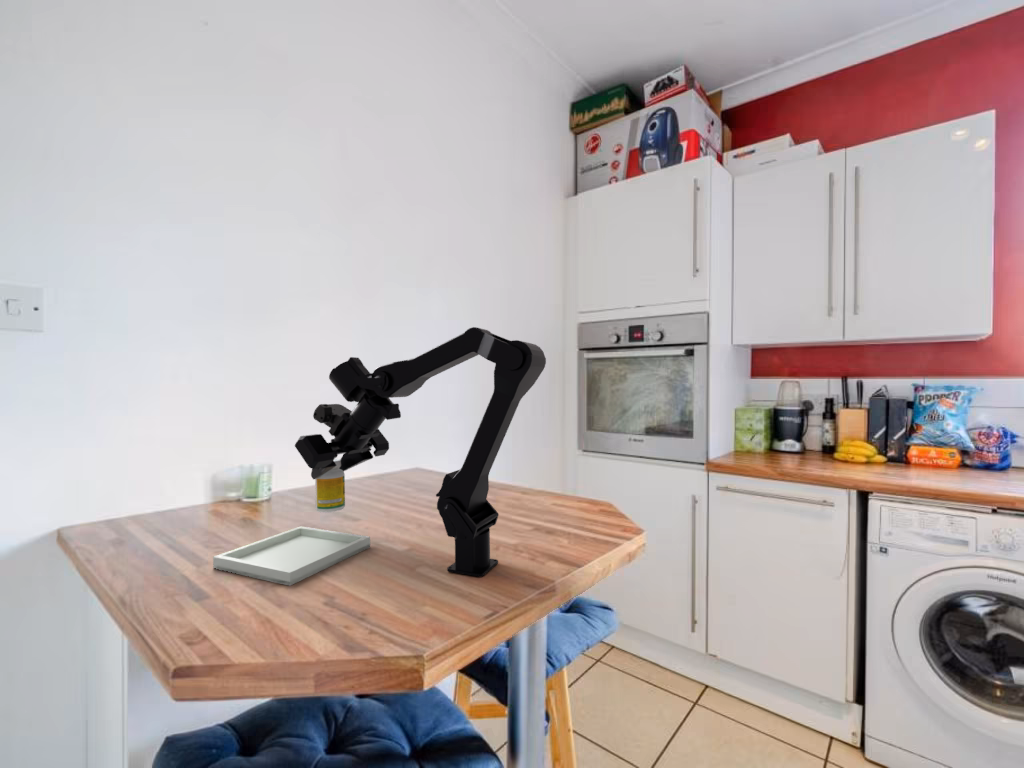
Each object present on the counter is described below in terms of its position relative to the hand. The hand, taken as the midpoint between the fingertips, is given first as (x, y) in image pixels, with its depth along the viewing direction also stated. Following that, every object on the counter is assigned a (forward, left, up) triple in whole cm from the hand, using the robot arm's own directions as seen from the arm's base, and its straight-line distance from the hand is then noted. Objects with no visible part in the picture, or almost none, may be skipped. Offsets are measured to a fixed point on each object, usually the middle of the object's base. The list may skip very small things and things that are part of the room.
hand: (324, 474), depth 90 cm
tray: (-8, -1, -13) cm, 16 cm away
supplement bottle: (0, -1, -7) cm, 7 cm away
